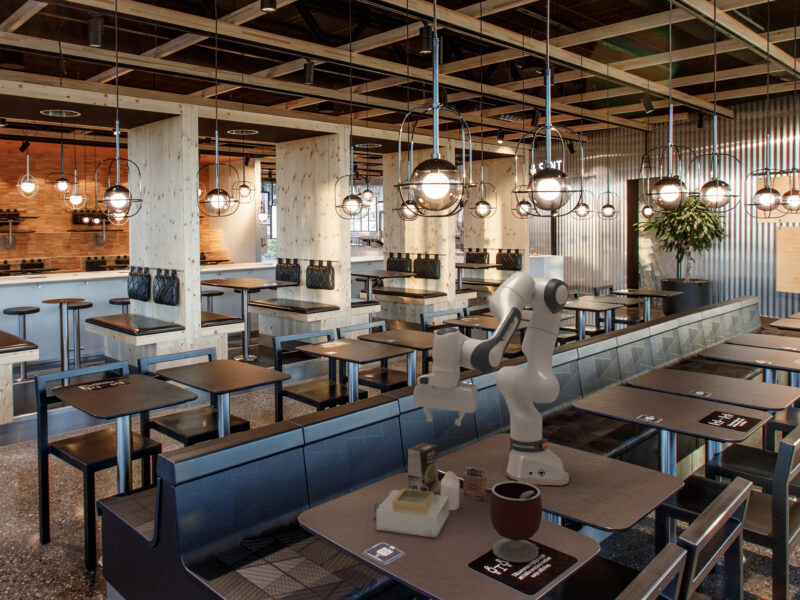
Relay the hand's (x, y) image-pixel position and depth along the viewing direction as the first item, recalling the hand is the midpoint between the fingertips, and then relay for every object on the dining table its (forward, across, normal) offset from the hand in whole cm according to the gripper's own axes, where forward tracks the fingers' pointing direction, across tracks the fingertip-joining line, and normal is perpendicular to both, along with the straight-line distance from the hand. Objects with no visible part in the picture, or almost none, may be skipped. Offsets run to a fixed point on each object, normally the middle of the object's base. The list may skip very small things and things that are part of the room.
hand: (443, 423), depth 202 cm
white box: (+28, +5, +14) cm, 31 cm away
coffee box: (+27, +9, -8) cm, 30 cm away
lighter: (+26, -8, -12) cm, 30 cm away
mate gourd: (+27, -29, +20) cm, 45 cm away
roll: (+27, -3, -1) cm, 27 cm away
